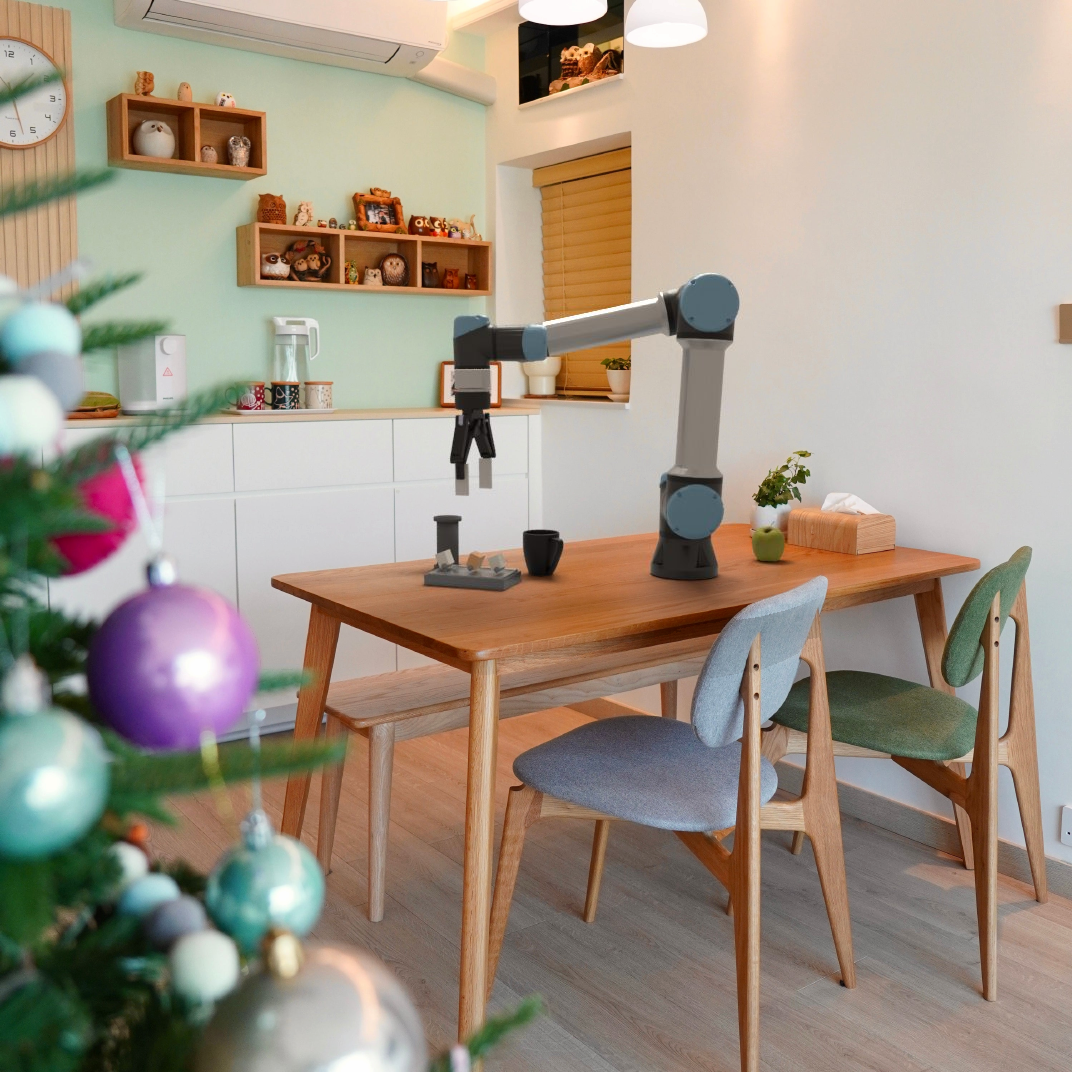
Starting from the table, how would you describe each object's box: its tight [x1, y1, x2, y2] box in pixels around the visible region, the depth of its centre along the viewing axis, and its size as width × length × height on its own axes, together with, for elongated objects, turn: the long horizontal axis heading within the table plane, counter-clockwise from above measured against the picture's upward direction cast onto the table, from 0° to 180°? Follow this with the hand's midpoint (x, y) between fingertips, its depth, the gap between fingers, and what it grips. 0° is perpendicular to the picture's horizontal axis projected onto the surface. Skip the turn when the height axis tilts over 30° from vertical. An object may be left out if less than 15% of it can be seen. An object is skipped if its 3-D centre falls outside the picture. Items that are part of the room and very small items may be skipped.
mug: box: [522, 529, 565, 577], centre depth 237 cm, size 8×12×10 cm
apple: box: [751, 521, 786, 562], centre depth 257 cm, size 8×8×10 cm
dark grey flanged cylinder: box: [433, 514, 463, 570], centre depth 244 cm, size 6×6×12 cm
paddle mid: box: [465, 550, 486, 571], centre depth 228 cm, size 2×4×4 cm, turn 163°
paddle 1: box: [434, 549, 454, 569], centre depth 230 cm, size 2×4×4 cm, turn 161°
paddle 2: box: [486, 552, 508, 573], centre depth 226 cm, size 2×4×4 cm, turn 161°
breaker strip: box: [423, 564, 522, 591], centre depth 229 cm, size 18×11×3 cm, turn 72°
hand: (474, 491), depth 226 cm, fingers open, 13 cm apart
